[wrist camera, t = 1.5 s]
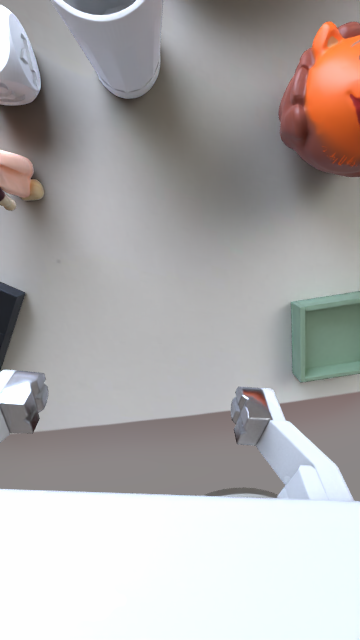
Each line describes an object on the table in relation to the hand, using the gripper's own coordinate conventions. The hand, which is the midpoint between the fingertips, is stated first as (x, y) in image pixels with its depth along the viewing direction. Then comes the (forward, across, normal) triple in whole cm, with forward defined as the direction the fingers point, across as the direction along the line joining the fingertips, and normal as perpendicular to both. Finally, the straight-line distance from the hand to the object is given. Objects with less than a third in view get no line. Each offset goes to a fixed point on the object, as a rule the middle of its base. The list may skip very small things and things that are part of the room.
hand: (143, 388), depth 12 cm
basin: (+20, +24, -10) cm, 32 cm away
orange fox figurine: (+26, +16, +11) cm, 33 cm away
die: (+27, -15, +11) cm, 33 cm away
